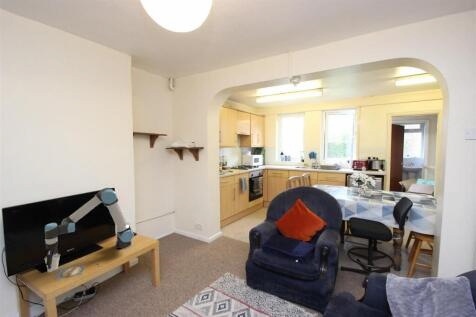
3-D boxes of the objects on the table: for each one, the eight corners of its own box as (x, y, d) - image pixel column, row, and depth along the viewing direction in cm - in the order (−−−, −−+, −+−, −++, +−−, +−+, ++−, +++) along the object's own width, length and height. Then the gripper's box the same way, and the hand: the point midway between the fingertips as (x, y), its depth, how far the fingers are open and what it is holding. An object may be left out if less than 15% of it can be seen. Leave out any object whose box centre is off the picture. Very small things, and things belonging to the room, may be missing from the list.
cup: (47, 274, 177) (47, 261, 177) (42, 270, 183) (42, 257, 182) (62, 268, 186) (62, 256, 185) (57, 265, 191) (57, 252, 190)
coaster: (82, 266, 189) (82, 265, 189) (79, 274, 177) (79, 273, 177) (64, 269, 184) (63, 269, 184) (59, 278, 172) (59, 277, 172)
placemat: (85, 264, 192) (85, 264, 192) (81, 275, 178) (81, 274, 178) (59, 269, 184) (59, 269, 184) (53, 280, 170) (53, 280, 170)
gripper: (50, 237, 192) (52, 261, 194) (40, 250, 170) (41, 277, 171) (61, 236, 195) (62, 259, 197) (52, 248, 173) (53, 274, 174)
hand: (52, 267), depth 184 cm, fingers open, 13 cm apart
